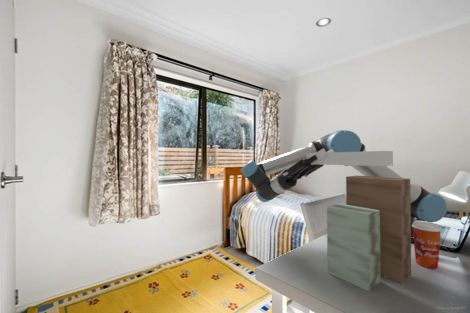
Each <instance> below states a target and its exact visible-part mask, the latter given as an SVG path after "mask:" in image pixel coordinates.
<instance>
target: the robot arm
mask: <svg viewBox="0 0 470 313" xmlns="http://www.w3.org/2000/svg"><path fill="white" fill-rule="evenodd" d="M326 152H366V145H365V144H364V143H362V142H361V138H360V137H359V135H358V134H357V133H355V132H353V131H351V130H347V129H346V130H344V129H342V130H341V129H339V130H337V131H335V132H332V133H328V134H325V135H324V136H322V137H320V138H318V139H316V140H314V141H311V142H309V143H308V145H305V146H303V147H300V148H297V149H294V150H292V151H288V152H286V153H283V154H280V155H277V156H274V157H271V158H269V159H266V160H262V161H261V162H258V163H256V161H254V160H252V159H251V160H250V161H248V162H247V163H246V164H245V165H244V166H243V167H242V168H241V169H240V173H241V174H242V175H243V176H244V177H245V178H246V180H248V181H249V183H251V185H252V186H254V188H255V189H256V191H255V194H256V197H257V199H258V200H259V202H260V201H261V202H262V203H268V202H270V201H272V200H274V199H275V198H276V197H278V196H280V195H284V194H285V192H287V191H289V190H291V189H292V188H294V187H295V186H296V185H297V183H298V180H301V179H302V178H303V177H305V178H306V177H308V176H309V175H311V174H312V173H314V172H316V171H317V170H319V169H320V168H322V167H324V165H322V164H315V163H317V162H318V161H320V160H321V159H323V158H325V157H326V156H328V155H327V153H326ZM306 153H315V154H314V155H312V156H311V157H309V158H308V159H306ZM344 166H345V167H348V166H349V167H352V168H353V169H355V170H356V171H357V172H359V173H360V174H361V175H362V176H372V177H389V178H403V177H402V176H400V175H399V173H397V172H396V171H394V170H392V169H391V168H390V167H389V166H363V165H344ZM278 172H279V173H278ZM276 173H278V174H276ZM273 174H276V175H275V176H274V177H272V178H270V177H269V176H270V175H273ZM410 201H411V237H414V235H413V227H412V224H413V222H414V221H416V219H418V220H419V221H423V222H430V223H436V222H439V221H441V220H442V219H443V218H444V217H445V215H446V213H447V211H448V210H447V209H448V205H447V202H446V199H445V198H444V197H443V196H441V195H439V194H437V193H431V192H430V191H428V190H427V189H425V188H424V187H422V186H421V185H419V184H418V183H410Z"/></svg>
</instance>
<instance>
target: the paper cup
mask: <svg viewBox="0 0 470 313" xmlns="http://www.w3.org/2000/svg"><path fill="white" fill-rule="evenodd" d="M412 227H413V235H414V238H413V243H414V245H413V246H414V258H415V263H416V265H418V266H420V267H422V268H425V269H430V270H437V269H438V268H439V257H440V243H441V232H442V231H443V229H442V227H441V226H440V225H439V224H437V223H435V222H427V221H422V220H415V221H414V222H413V224H412Z"/></svg>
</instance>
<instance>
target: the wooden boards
mask: <svg viewBox="0 0 470 313" xmlns="http://www.w3.org/2000/svg"><path fill="white" fill-rule="evenodd" d="M345 184H346V185H345V191H346V192H345V195H346V196H345V199H346V200H345V201H346V203H345V204H344V203H338V204H332V205H328V206H327V207H326V215H327V216H326V233H327V234H326V236H327V237H326V242H327V244H326V246H327V248H326V249H327V250H326V251H327V254H326V255H327V261H326V262H327V264H326V265H327V267H326V268H327V273H328V274H330V275H333V277H337V278H339V279H341V280H342V281H345V282H347V283H349V284H351V285H353V286H356V287H358V288H359V289H362V290H364V291H366V292H369V291H371V290H372V289H374V288H375V286H377V285H378V284H379V283H380V282H381V279H382V278H381V276H382V277H384V278H387V279H389V280H392V281H394V282H397V283H400V284H403V283H404V282H406V280H407V279H409V278H410V277H411V276H412V238H411V201H410V184H411V178H404V177H402V178H389V177H372V176H364V175H351V176H350V175H347V176H346V177H345Z"/></svg>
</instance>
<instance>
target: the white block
mask: <svg viewBox="0 0 470 313" xmlns="http://www.w3.org/2000/svg"><path fill="white" fill-rule="evenodd" d="M365 151H366V150H365ZM326 153H327V155H328V156H326V157H325V158H323V159H321V160H320V161H318V162H317V163H315V164H322V165H325V166H326V165H327V166H329V165H330V166H331V165H332V166H334V165H335V166H345V165H363V166H387V167H391V166H392V167H393V166H394V151H393V150H392V151H391V150H390V151H389V150H377V151H376V150H375V151H373V150H371V151H366V152H326ZM314 154H315V153H306V159H308V158H309V157H311V156H312V155H314Z"/></svg>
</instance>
